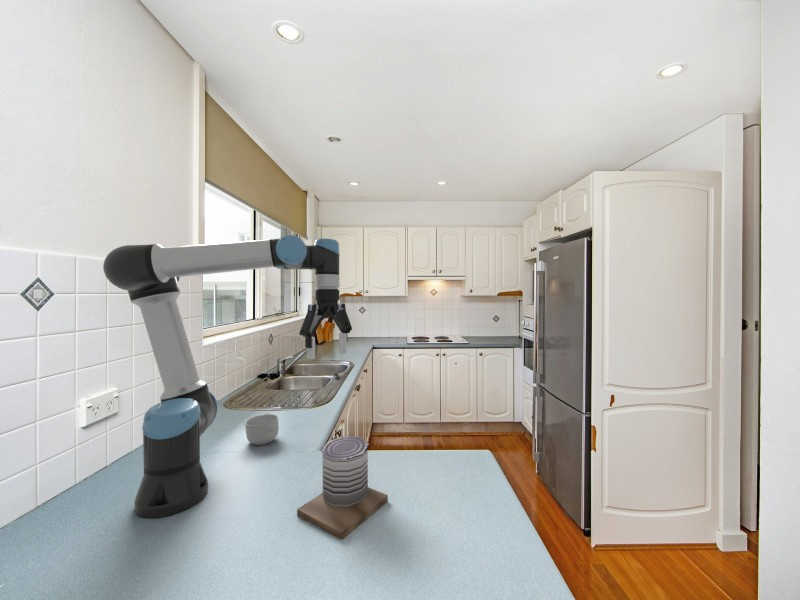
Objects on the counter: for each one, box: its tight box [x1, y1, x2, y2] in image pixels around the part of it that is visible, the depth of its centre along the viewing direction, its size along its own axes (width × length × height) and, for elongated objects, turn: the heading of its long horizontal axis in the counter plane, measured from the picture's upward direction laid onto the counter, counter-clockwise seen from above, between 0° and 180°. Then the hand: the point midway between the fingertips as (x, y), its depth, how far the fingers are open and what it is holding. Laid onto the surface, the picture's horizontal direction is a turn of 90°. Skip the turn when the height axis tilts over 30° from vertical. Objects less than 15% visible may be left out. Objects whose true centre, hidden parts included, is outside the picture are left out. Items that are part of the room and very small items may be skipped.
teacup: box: [244, 412, 279, 446], centre depth 120 cm, size 14×11×8 cm
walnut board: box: [296, 486, 389, 540], centre depth 80 cm, size 16×14×2 cm
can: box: [319, 435, 370, 507], centre depth 84 cm, size 11×11×12 cm
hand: (327, 355), depth 107 cm, fingers open, 13 cm apart
